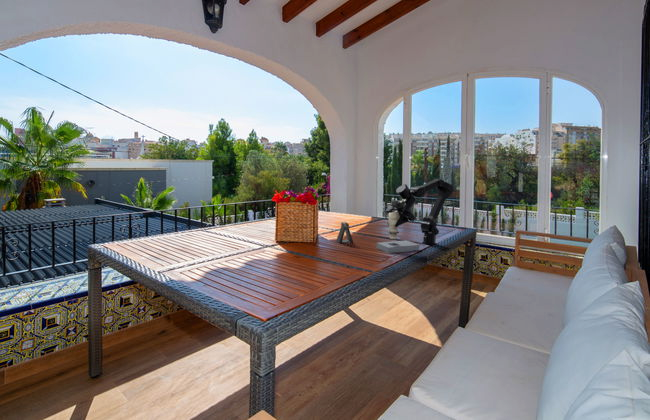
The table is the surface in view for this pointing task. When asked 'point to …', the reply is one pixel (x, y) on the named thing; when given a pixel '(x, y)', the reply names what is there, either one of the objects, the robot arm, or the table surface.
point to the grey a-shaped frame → (341, 233)
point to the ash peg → (393, 225)
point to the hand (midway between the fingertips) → (391, 225)
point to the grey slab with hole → (397, 246)
